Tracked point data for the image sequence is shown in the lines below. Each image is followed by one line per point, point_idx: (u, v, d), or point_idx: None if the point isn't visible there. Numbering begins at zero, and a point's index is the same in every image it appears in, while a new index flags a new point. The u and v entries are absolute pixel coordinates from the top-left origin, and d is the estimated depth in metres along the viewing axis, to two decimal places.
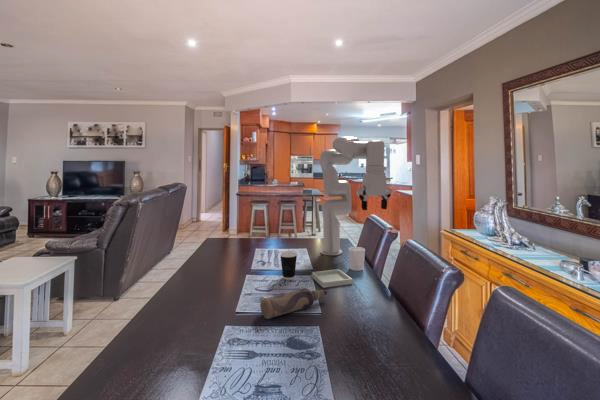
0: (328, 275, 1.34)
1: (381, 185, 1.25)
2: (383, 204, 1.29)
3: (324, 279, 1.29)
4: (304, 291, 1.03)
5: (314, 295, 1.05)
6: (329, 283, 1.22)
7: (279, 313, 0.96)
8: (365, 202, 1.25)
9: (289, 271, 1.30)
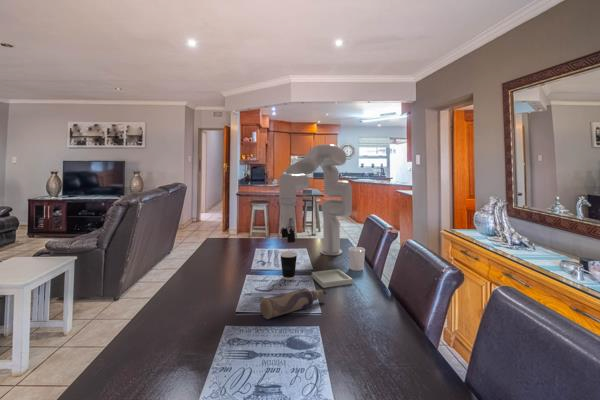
0: (328, 275, 1.34)
1: None
2: (285, 233, 1.35)
3: (324, 279, 1.29)
4: (303, 291, 1.03)
5: (313, 295, 1.05)
6: (329, 283, 1.22)
7: (279, 313, 0.96)
8: (294, 234, 1.27)
9: (289, 271, 1.30)
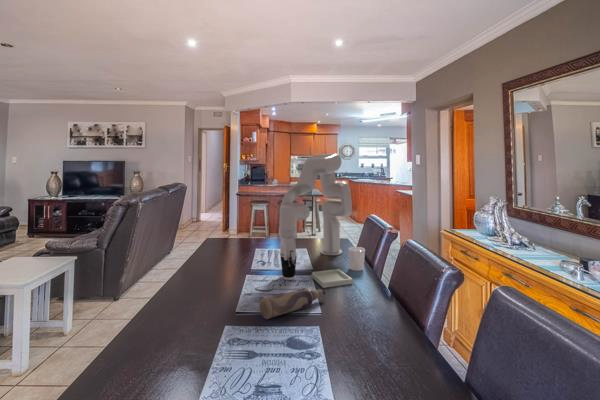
0: (328, 275, 1.34)
1: None
2: None
3: (324, 279, 1.29)
4: (303, 291, 1.03)
5: (313, 295, 1.05)
6: (329, 283, 1.22)
7: (278, 313, 0.96)
8: (294, 267, 1.29)
9: None
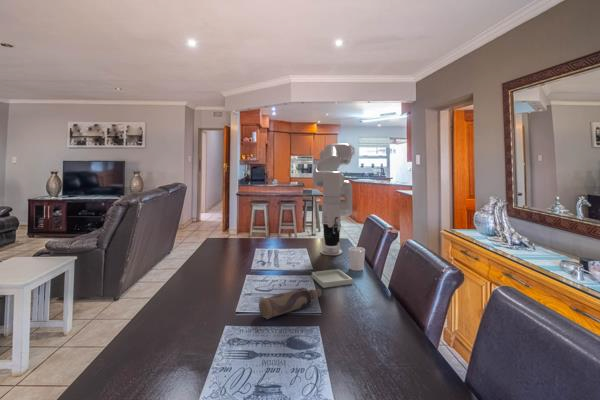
0: (328, 275, 1.34)
1: None
2: None
3: (324, 279, 1.29)
4: (302, 290, 1.03)
5: (312, 294, 1.06)
6: (329, 283, 1.22)
7: (278, 313, 0.96)
8: (338, 234, 1.24)
9: None
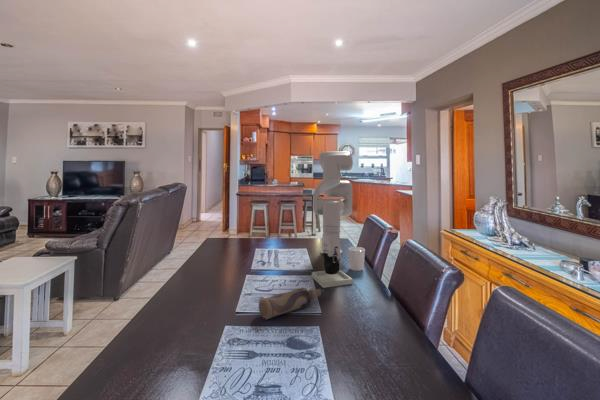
0: None
1: None
2: None
3: (324, 279, 1.29)
4: (302, 290, 1.04)
5: (311, 294, 1.06)
6: (329, 283, 1.22)
7: (278, 313, 0.96)
8: (338, 263, 1.25)
9: None
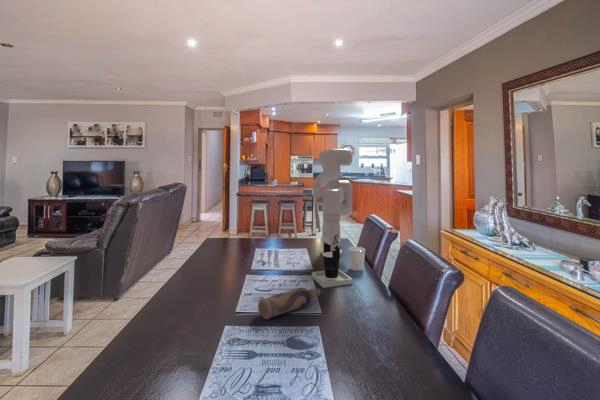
0: None
1: None
2: (327, 248, 1.34)
3: (324, 279, 1.29)
4: (301, 290, 1.04)
5: (310, 294, 1.06)
6: (329, 283, 1.22)
7: (278, 313, 0.96)
8: (339, 251, 1.25)
9: (332, 271, 1.26)
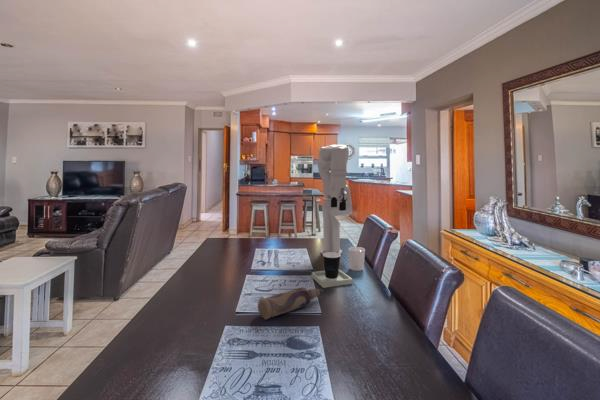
0: None
1: None
2: (334, 203, 1.47)
3: (324, 279, 1.29)
4: (301, 290, 1.04)
5: (310, 294, 1.06)
6: (329, 283, 1.22)
7: (277, 313, 0.96)
8: (345, 203, 1.38)
9: (332, 272, 1.26)
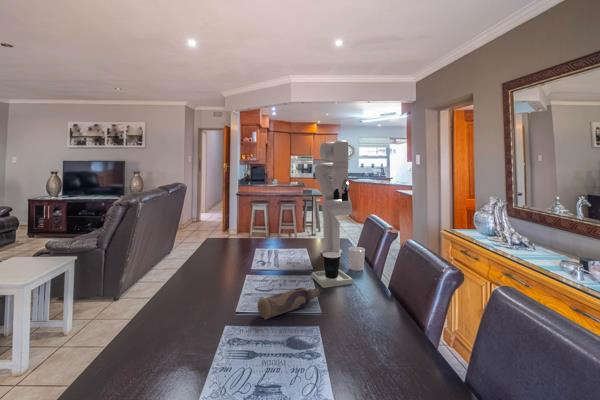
0: None
1: None
2: (337, 195, 1.52)
3: (324, 279, 1.29)
4: (300, 290, 1.04)
5: (310, 294, 1.06)
6: (329, 283, 1.22)
7: (277, 313, 0.96)
8: (347, 194, 1.43)
9: (332, 272, 1.26)
